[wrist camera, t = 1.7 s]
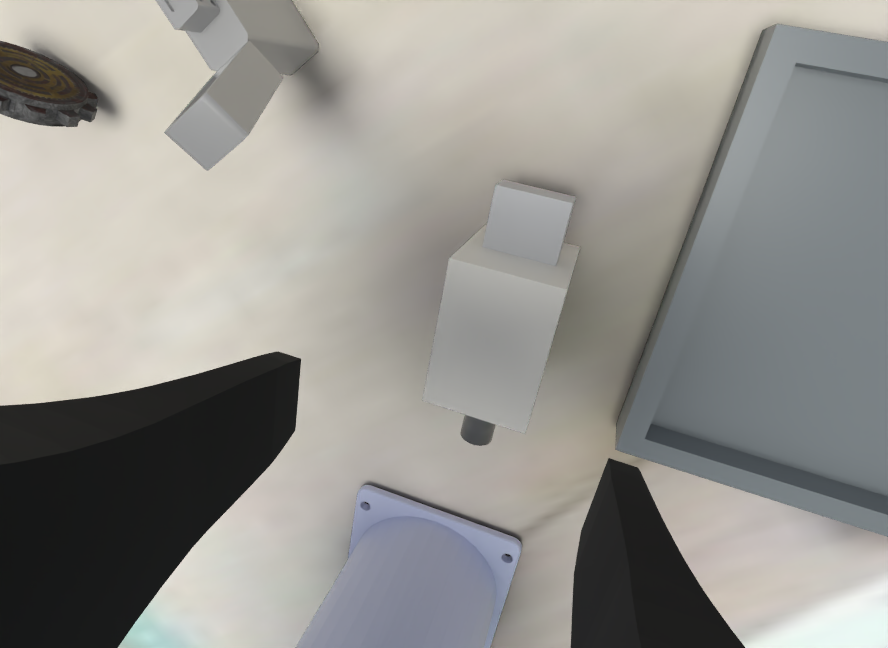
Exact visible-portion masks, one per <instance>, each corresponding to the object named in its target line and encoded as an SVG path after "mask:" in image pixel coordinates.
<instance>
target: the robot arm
mask: <svg viewBox="0 0 888 648" xmlns="http://www.w3.org/2000/svg"><path fill="white" fill-rule="evenodd" d="M300 365H301V359H300V358H296V357H293V356H290V355H287V354H284V353H281V352H273V353H269V354H264V355H261V356H257V357H253V358H250V359H247V360H243V361H240V362H236V363H233V364H230V365H226V366H223V367H220V368H216V369H213V370H209V371H206V372H203V373H199V374H196V375H192V376H188V377H184V378H180V379H176V380H173V381H169V382H165V383H161V384H157V385H153V386H149V387H144V388H140V389H135V390H130V391H125V392H119V393H114V394H108V395H102V396H96V397H89V398H81V399H72V400H63V401H55V402H46V403H36V404H22V405H7V406H0V648H118V646H119V645H120V643H121V642H122V640H123V639H124V638H125V636H126V635H127V633H128V632H129V630H130V629H131V628H132V626H133V625H134V623H135V622H136V621H137V619H138V618H139V617H140V615H141V614H142V613H143V611H144V610H145V608H146V607H147V606H148V604H149V603H150V602H151V600H152V599H153V598H154V596H155V595H156V594H157V592H158V591H159V590H160V588H161V587H162V586H163V584H164V583H165V582H166V580H167V579H168V578H169V577H170V575H171V574H172V573H173V571H174V570H175V569H176V568H177V566H178V565H179V564H180V562H181V561H182V560H183V559H184V557H185V556H186V555H187V554H188V552H189V551H190V550H191V548H192V547H193V546H194V545H195V544H196V543H197V542H198V541H199V539H200V538H201V537H202V536H203V535H204V534H205V533H206V532H207V530H208V529H209V528H210V527H211V526H212V525H213V524H214V523H215V522H216V521H217V520H218V519H219V518H220V517H221V516H222V515H223V514H224V513H225V512H226V511H227V510H228V509H229V508H230V507H231V506H232V505H233V504H234V502H235V501H236V500H237V499H238V498H239V497H240V496H241V495H242V494H243V493H244V492H245V491H246V490H247V489H248V488H249V487H250V486H251V485H252V484H253V483H254V482H255V481H256V480H257V478H258V477H259V476H260V475H261V474H262V473H263V472H264V471H265V470H266V469H267V468H268V467H269V466H270V465H271V463H272V462H273V461H274V459H275V458H276V457H277V455H278V454H279V453H280V451H281V450H282V449H283V447H284V446H285V444H286V443H287V442H288V440H289V439H290V437H291V436H292V434H293V433H294V431H295V427H296V415H297V402H298V390H299V377H300ZM365 502H367V503H369V505H367V504H366V503H365ZM521 549H522V545H521V542H520V541H519V540H518V539H516V538H515V537H512V536H510V535H507V534H504V533H501V532H499V531H496V530H493V529H490V528H487V527H485V526H482V525H479V524H476V523H474V522H471V521H468V520H465V519H463V518H460V517H457V516H454V515H451V514H449V513H446V512H443V511H440V510H438V509H435V508H432V507H429V506H427V505H424V504H421V503H418V502H415V501H413V500H410V499H407V498H404V497H402V496H399V495H396V494H393V493H391V492H388V491H385V490H382V489H379V488H377V487H374V486H371V485H363V486H362V487H361V488H360V490H359V491H358V494H357V500H356V506H355V513H354V520H353V527H352V534H351V541H350V548H349V554H348V561H347V562H346V564H345V566H344V567H343V569H342V571H341V572H340V574H339V576H338V577H337V579H336V581H335V582H334V584H333V586H332V587H331V589H330V591H329V592H328V594H327V596H326V597H325V599H324V601H323V602H322V604H321V606H320V607H319V609H318V611H317V612H316V614H315V616H314V617H313V619H312V621H311V622H310V624H309V626H308V627H307V629H306V631H305V632H304V634H303V636H302V637H301V639H300V641H299V642H298V644H297V646H296V647H295V648H490V647H491V644H492V640H493V637H494V634H495V631H496V628H497V625H498V622H499V619H500V616H501V613H502V609H503V606H504V603H505V600H506V597H507V594H508V591H509V588H510V585H511V582H512V578H513V575H514V572H515V569H516V566H517V563H518V560H519V557H520V554H521ZM505 554H509V555H511V557H508V556H506V555H505ZM571 648H745V647H744V645H743V644H742V643H741V641H740V640H739V639H738V638H737V636H736V635H735V634H734V633H733V631H732V630H731V629H730V627H729V626H728V624H727V623H726V622H725V620H724V619H723V618H722V616H721V615H720V613H719V612H718V611H717V609H716V608H715V606H714V605H713V604H712V602H711V601H710V599H709V598H708V597H707V595H706V594H705V592H704V591H703V589H702V588H701V586H700V585H699V583H698V581H697V580H696V578H695V576H694V575H693V573H692V572H691V570H690V568H689V567H688V565H687V563H686V562H685V560H684V558H683V556H682V555H681V553H680V551H679V549H678V547H677V546H676V544H675V542H674V540H673V538H672V536H671V534H670V532H669V531H668V529H667V527H666V525H665V523H664V521H663V519H662V517H661V515H660V513H659V511H658V509H657V507H656V504H655V502H654V500H653V498H652V496H651V494H650V492H649V489H648V487H647V485H646V483H645V481H644V478H643V476H642V474H641V472H640V470H639V469H638V468H637V467H634V466H631V465H628V464H625V463H622V462H619V461H616V460H613V459H608V461H607V464H606V466H605V469H604V472H603V474H602V477H601V480H600V482H599V485H598V488H597V490H596V493H595V496H594V498H593V501H592V504H591V506H590V509H589V512H588V514H587V517H586V520H585V522H584V525H583V528H582V530H581V535H580V541H579V547H578V553H577V559H576V565H575V571H574V585H573V607H572V632H571Z"/></svg>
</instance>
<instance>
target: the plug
mask: <svg viewBox="0 0 888 648" xmlns="http://www.w3.org/2000/svg"><path fill="white" fill-rule="evenodd" d="M575 200H576V197H575V196H571V195H567V194H563V193H559V192H554V191H550V190H546V189H542V188H537V187H533V186H529V185H525V184H521V183H516V182H512V181H508V180H504V179H503V180H502V181H500V182H499V183H497V184H496V185H495V189H494V194H493V199H492V203H491V208H490V213H489V217H488V222H487V223H486V224H485V225H484V226H483V227H482V228H481V229H480V230H479V231H478V232H477V233H476V234H475V235H474V236H472V237H471V238H470V239H469V240H468V241H467V242H466V243H465V244H464V245H463V246H462V247H461V248H459V249H458V250H457V251H456V252H455V253H454V254H453V255H452V256H451V257H450V258H449V262H448V267H447V273H446V278H445V283H444V288H443V293H442V299H441V304H440V309H439V314H438V320H437V325H436V330H435V335H434V341H433V346H432V351H431V356H430V362H429V367H428V372H427V377H426V383H425V388H424V393H423V398H422V401H425V402H428V403H431V404H434V405H437V406H440V407H443V408H446V409H449V410H452V411H455V412H459V413H462V414H465V416H464V420H463V425H462V429H461V436H462V438H463V439H464V440H465V441H467V442H468V443H471V444H473V445H479V446H482V445H487V444H489V443H490V442H491V440H492V436H493V432H494V429H495V425H499V426H502V427H505V428H508V429H511V430H514V431H517V432H520V433H523V434H525V433H526V430H527V426H528V423H529V420H530V416H531V413H532V410H533V406H534V403H535V400H536V396H537V393H538V390H539V387H540V383H541V380H542V377H543V373H544V370H545V367H546V363H547V360H548V356H549V353H550V350H551V346H552V343H553V339H554V336H555V332H556V329H557V326H558V322H559V319H560V315H561V312H562V309H563V305H564V302H565V298H566V295H567V291H568V288H569V285H570V281H571V278H572V274H573V271H574V267H575V264H576V261H577V257H578V254H579V250H580V247H579V246H575V245H571V244H567V243H564V239H565V236H566V232H567V229H568V225H569V221H570V218H571V214H572V211H573V207H574V203H575Z"/></svg>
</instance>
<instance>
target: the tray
mask: <svg viewBox="0 0 888 648" xmlns="http://www.w3.org/2000/svg"><path fill="white" fill-rule="evenodd" d="M615 450H618V451H621V452H624V453H627V454H630V455H633V456H636V457H640V458H643V459H646V460H649V461H652V462H655V463H658V464H661V465H665V466H668V467H671V468H674V469H677V470H680V471H683V472H687V473H690V474H693V475H696V476H699V477H702V478H705V479H709V480H712V481H715V482H718V483H721V484H724V485H727V486H730V487H734V488H737V489H740V490H743V491H746V492H749V493H752V494H756V495H759V496H762V497H765V498H768V499H771V500H774V501H777V502H781V503H784V504H787V505H790V506H793V507H796V508H799V509H803V510H806V511H809V512H812V513H815V514H818V515H821V516H824V517H828V518H831V519H834V520H837V521H840V522H843V523H846V524H850V525H853V526H856V527H859V528H862V529H865V530H868V531H871V532H875V533H878V534H881V535H884V536H887V537H888V42H884V41H878V40H872V39H866V38H860V37H854V36H848V35H842V34H836V33H830V32H824V31H818V30H812V29H806V28H800V27H794V26H788V25H782V24H775V25H773V26H771V27H769V28H767V29H765V30H763V31H762V33H761V36H760V39H759V41H758V44H757V47H756V49H755V52H754V55H753V58H752V60H751V63H750V66H749V68H748V71H747V74H746V76H745V79H744V82H743V84H742V87H741V90H740V93H739V95H738V98H737V101H736V103H735V106H734V109H733V111H732V114H731V117H730V119H729V122H728V125H727V128H726V130H725V133H724V136H723V138H722V141H721V144H720V146H719V149H718V152H717V154H716V157H715V160H714V163H713V165H712V168H711V171H710V173H709V176H708V179H707V181H706V184H705V187H704V189H703V192H702V195H701V198H700V200H699V203H698V206H697V208H696V211H695V214H694V216H693V219H692V222H691V224H690V227H689V230H688V233H687V235H686V238H685V241H684V243H683V246H682V249H681V251H680V254H679V257H678V259H677V262H676V265H675V268H674V270H673V273H672V276H671V278H670V281H669V284H668V286H667V289H666V292H665V294H664V297H663V300H662V303H661V305H660V308H659V311H658V313H657V316H656V319H655V321H654V324H653V327H652V329H651V332H650V335H649V338H648V340H647V343H646V346H645V348H644V351H643V354H642V356H641V359H640V362H639V364H638V367H637V370H636V373H635V375H634V378H633V381H632V383H631V386H630V389H629V391H628V394H627V397H626V399H625V402H624V405H623V407H622V410H621V413H620V416H619V418H618V421H617V424H616V447H615Z"/></svg>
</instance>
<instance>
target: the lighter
mask: <svg viewBox="0 0 888 648" xmlns="http://www.w3.org/2000/svg"><path fill="white" fill-rule="evenodd" d="M156 2H157V3H158V5H159V6H160V8H161V9H162V11H163V12H164V14H165V15H166V17H167V18H168V20H169V21H170V23H171V24H172V26H173V27H174V29H176V30H184V31H186V33H187V34H188V36H189V37H190V39H191V40H192V42H193V43H194V45H195V47H196V48H197V50H198V51H199V53H200V54H201V56H202V57H203V59H204V60H205V62H206V63H207V65H208V66H209V68H210V69H211V70H213V71H217V72H216V73H215V74H214V75H213V76H212V77H211V78H210V79H209V81H208V82H207V83H206V84H205V85H204V86H203V88H202V89H201V90H200V91H199V92H198V93H197V95H196V96H195V97H194V98H193V99H192V100H191V102H190V103H189V104H188V105H187V106H186V107H185V109H184V110H183V111H182V112H181V113H180V114H179V116H178V117H177V118H176V119H175V120H174V121H173V123H172V124H171V125H170V126H169V127H168V128H167V130H166V131H165V132H164V133H165V134H166V135H167V136H168V137H170V138H171V139H172V140H173V141H174V142H175V143H176V144H177V145H179V146H180V147H181V148H182V149H183V150H184V151H185V152H186V153H188V154H189V155H190V156H191V157H192V158H193V159H194V160H195V161H197V162H198V163H199V164H200V165H201V166H202V167H203V168H204V169H205V170H210V169H211V168H212V167H213V166H214V165H215V164H217V163H218V162H219V161H220V160H221V159H222V158H223V157H225V156H226V155H227V154H228V153H229V152H230V151H232V150H233V149H234V148H235V147H236V146H237V145H239V144H240V143H241V142H242V141H243V140H244V139H245V138H246V137H247V136H248V135H249V133H250V132H251V130H252V128H253V127H254V125H255V123H256V122H257V120H258V119H259V117H260V115H261V114H262V112H263V110H264V109H265V107H266V106H267V104H268V102H269V101H270V99H271V97H272V96H273V94H274V92H275V91H276V89H277V88H278V86H279V84H280V83H281V81H282V79H283V77H282V76H281V75H280V74H282V75H292V74H293V73H294V72H295V71H297V70H298V69H299V68H300V67H301V66H302V65H303V64H304V63H306V62H307V61H308V60H309V59H310V58H311V57H312V56H314V55H315V54H316V53H317V52H318V46H319V44H318V42H317V41H316V39H315V37H314V36H313V34H312V33H311V31H310V29H309V28H308V26H307V24H306V23H305V21H304V20H303V18H302V16H301V15H300V13H299V11H298V10H297V8H296V7H295V5H294V3H293V2H292V0H156Z"/></svg>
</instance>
